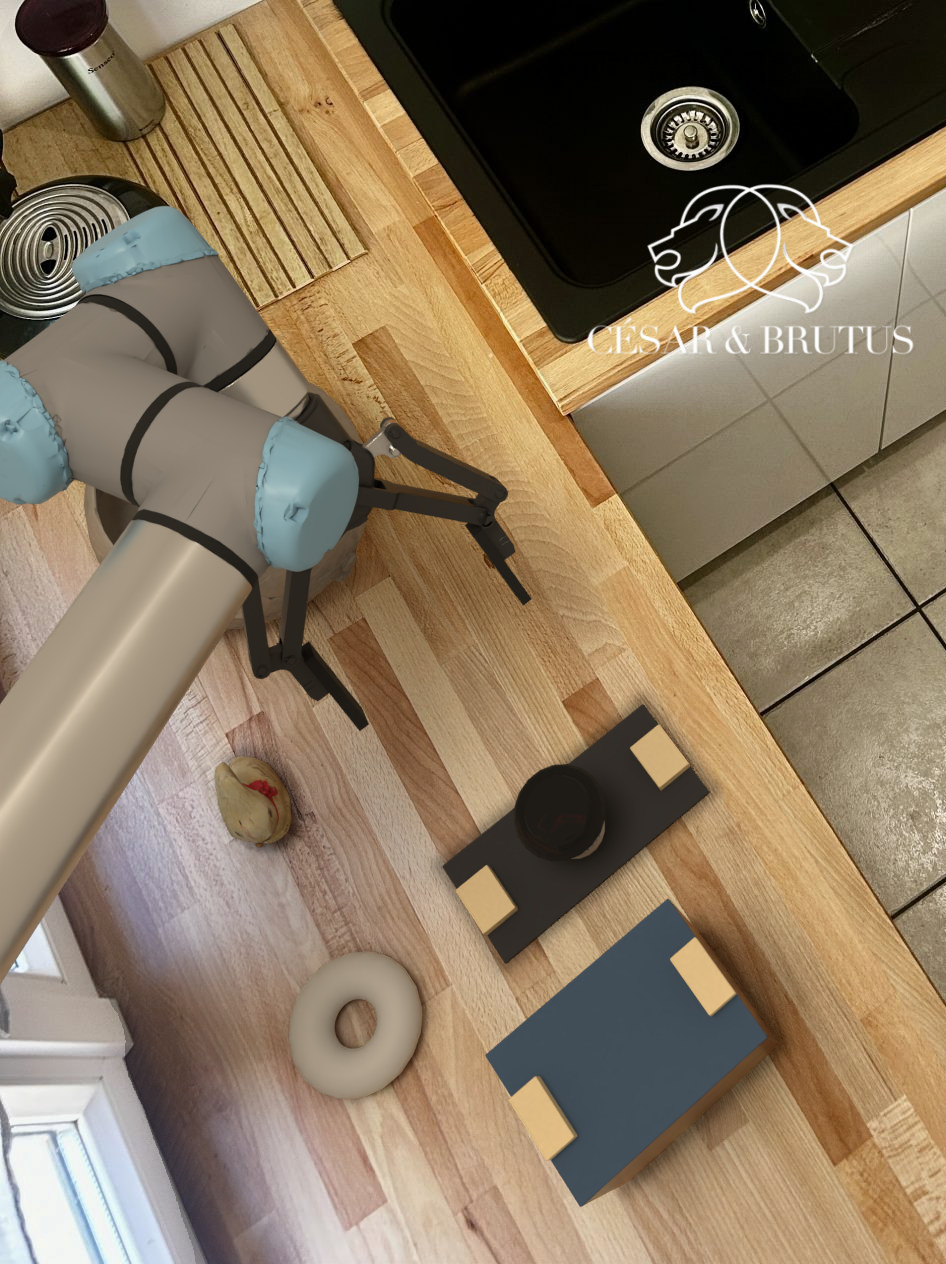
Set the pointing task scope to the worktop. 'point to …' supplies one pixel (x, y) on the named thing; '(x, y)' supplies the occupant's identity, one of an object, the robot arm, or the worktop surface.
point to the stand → (708, 1098)
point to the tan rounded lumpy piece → (252, 801)
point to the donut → (392, 1039)
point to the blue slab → (624, 1051)
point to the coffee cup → (560, 813)
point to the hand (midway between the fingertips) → (443, 657)
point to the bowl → (115, 514)
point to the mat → (546, 890)
